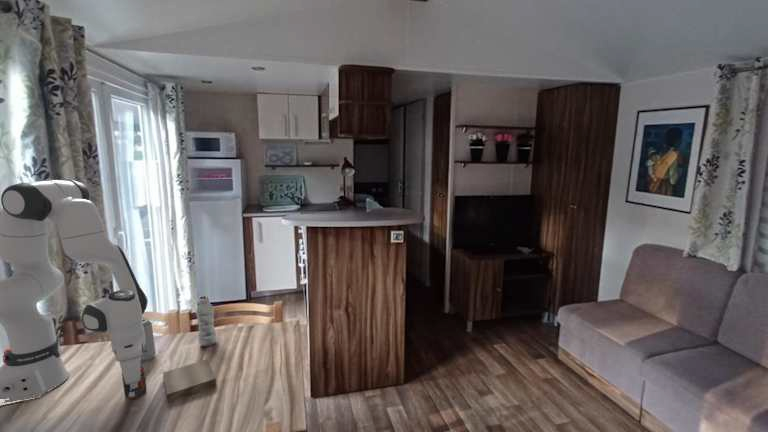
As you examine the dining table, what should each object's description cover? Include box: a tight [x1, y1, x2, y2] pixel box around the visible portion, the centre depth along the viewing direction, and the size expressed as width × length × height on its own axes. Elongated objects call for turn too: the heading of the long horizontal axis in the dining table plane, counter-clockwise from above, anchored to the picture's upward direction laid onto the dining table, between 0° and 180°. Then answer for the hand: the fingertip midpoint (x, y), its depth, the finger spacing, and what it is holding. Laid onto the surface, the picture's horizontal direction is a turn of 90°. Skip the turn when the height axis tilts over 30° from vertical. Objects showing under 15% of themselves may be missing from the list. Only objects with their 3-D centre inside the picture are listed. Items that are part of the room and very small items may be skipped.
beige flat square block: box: [162, 359, 217, 404], centre depth 125 cm, size 14×14×3 cm
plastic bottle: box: [195, 295, 218, 347], centre depth 149 cm, size 6×7×20 cm
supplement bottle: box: [121, 364, 148, 400], centre depth 119 cm, size 6×6×11 cm
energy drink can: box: [141, 317, 156, 363], centre depth 140 cm, size 6×6×15 cm
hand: (134, 381), depth 120 cm, fingers closed on supplement bottle, 6 cm apart
